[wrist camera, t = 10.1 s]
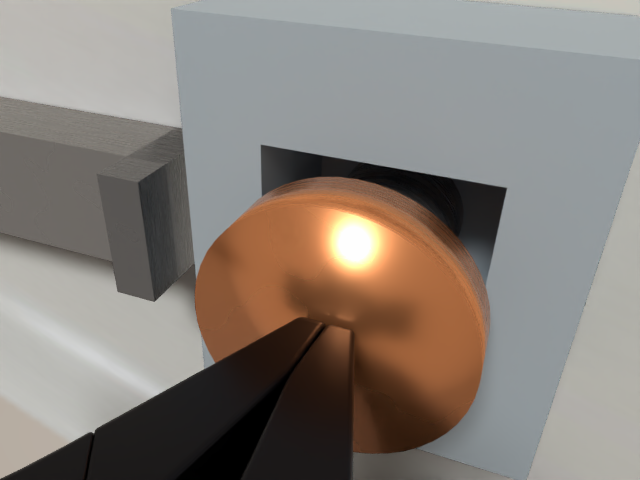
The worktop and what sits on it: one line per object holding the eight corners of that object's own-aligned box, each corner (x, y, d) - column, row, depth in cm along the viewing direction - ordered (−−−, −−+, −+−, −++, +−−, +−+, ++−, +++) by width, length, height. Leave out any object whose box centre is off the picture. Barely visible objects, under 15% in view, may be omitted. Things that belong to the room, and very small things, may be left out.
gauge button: (488, 318, 13) (455, 488, 9) (300, 273, 14) (204, 406, 10) (533, 124, 10) (512, 246, 7) (303, 91, 12) (183, 178, 8)
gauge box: (534, 365, 14) (525, 482, 11) (270, 297, 16) (205, 382, 13) (638, 16, 10) (664, 61, 7) (265, -18, 12) (170, 8, 9)
